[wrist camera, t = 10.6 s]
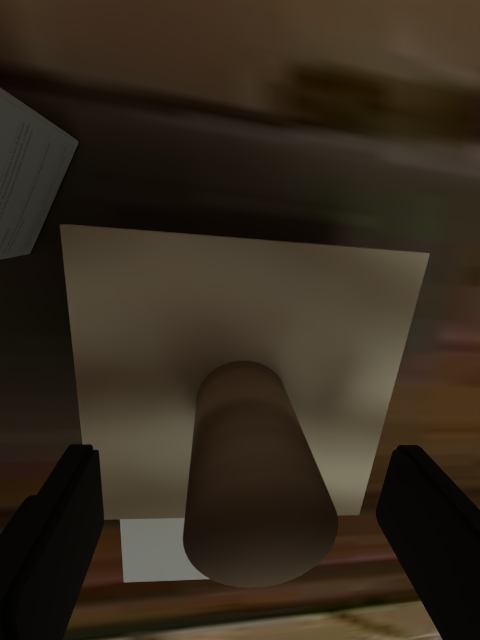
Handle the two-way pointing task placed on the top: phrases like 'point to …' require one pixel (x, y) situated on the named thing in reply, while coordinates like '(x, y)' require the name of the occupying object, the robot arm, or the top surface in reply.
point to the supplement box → (28, 173)
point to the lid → (236, 385)
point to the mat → (155, 551)
